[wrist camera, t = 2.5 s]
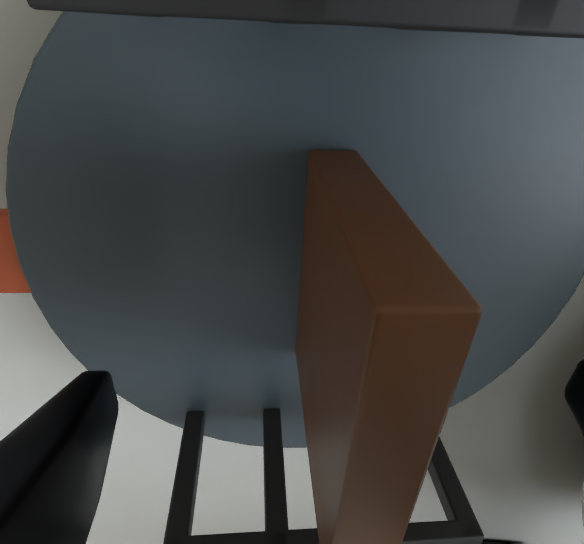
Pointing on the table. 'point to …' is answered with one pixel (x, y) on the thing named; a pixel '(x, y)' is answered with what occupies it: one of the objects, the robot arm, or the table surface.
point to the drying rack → (303, 228)
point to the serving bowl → (583, 504)
